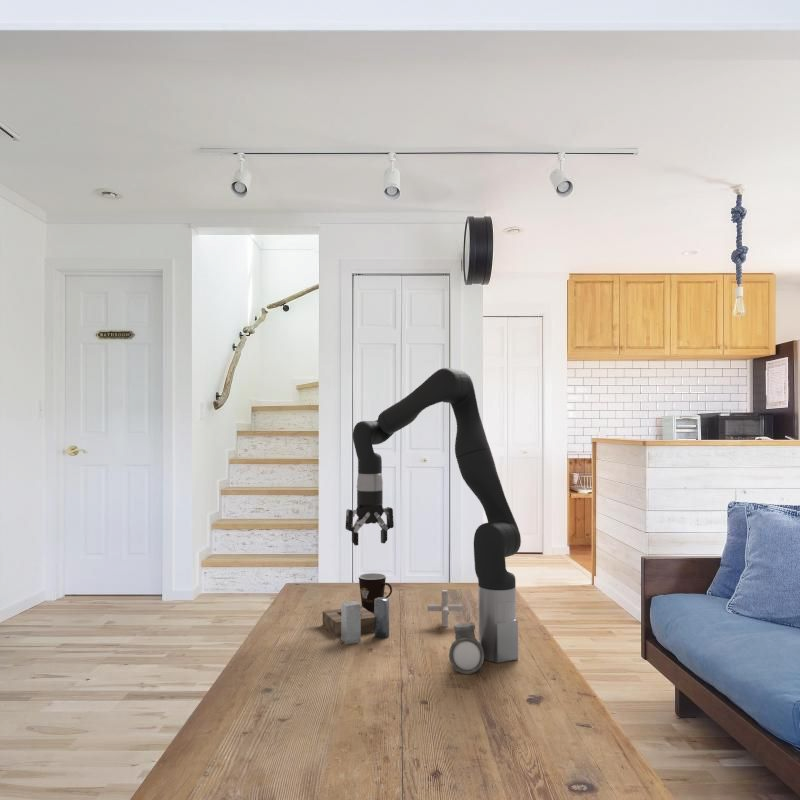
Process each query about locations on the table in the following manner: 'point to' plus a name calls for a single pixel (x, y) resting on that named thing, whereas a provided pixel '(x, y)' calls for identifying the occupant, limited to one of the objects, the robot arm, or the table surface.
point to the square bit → (351, 622)
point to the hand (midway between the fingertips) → (369, 544)
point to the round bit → (381, 617)
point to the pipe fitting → (466, 650)
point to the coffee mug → (372, 589)
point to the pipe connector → (445, 608)
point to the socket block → (334, 621)
